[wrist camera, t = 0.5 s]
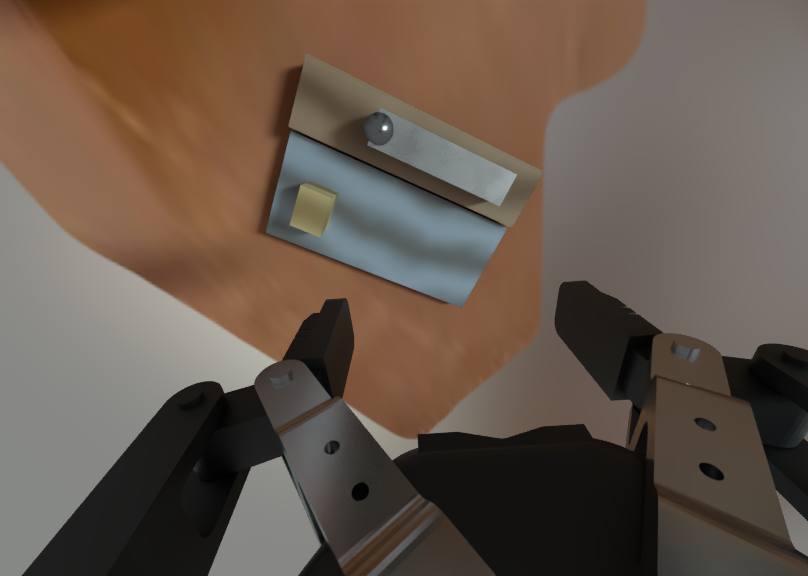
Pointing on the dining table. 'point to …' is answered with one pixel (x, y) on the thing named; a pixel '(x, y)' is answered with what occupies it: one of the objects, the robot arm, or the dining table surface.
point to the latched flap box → (385, 192)
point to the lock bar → (437, 156)
